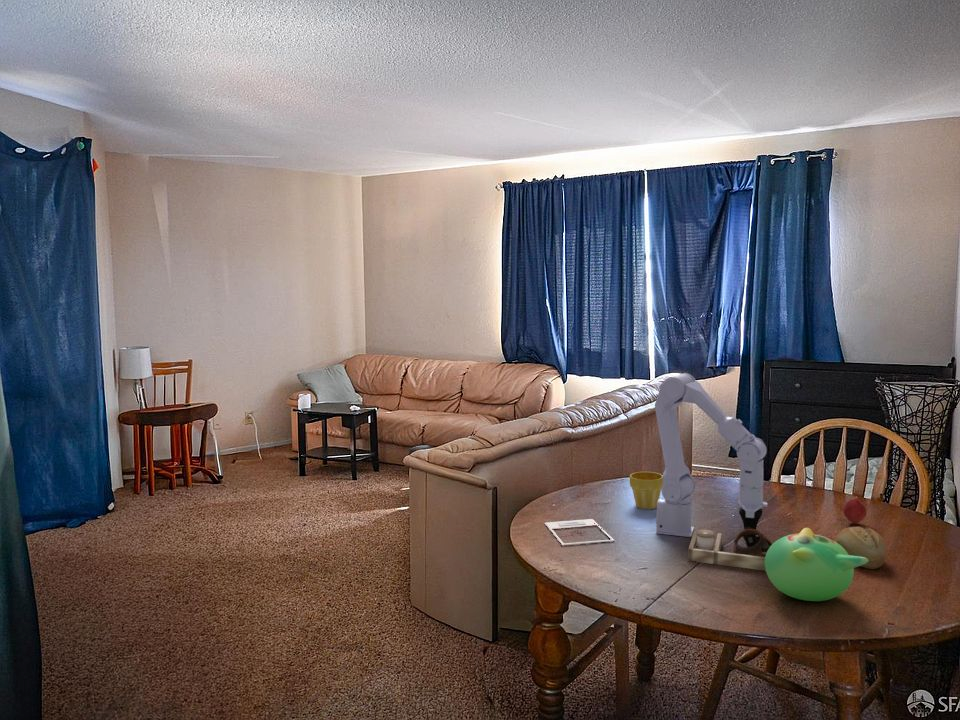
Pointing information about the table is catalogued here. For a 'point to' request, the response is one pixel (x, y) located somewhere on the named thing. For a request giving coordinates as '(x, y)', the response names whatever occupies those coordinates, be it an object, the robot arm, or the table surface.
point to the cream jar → (705, 539)
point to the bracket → (723, 556)
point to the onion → (854, 510)
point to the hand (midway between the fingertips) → (750, 536)
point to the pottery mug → (752, 542)
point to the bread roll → (863, 545)
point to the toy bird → (810, 566)
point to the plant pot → (646, 488)
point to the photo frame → (574, 524)
